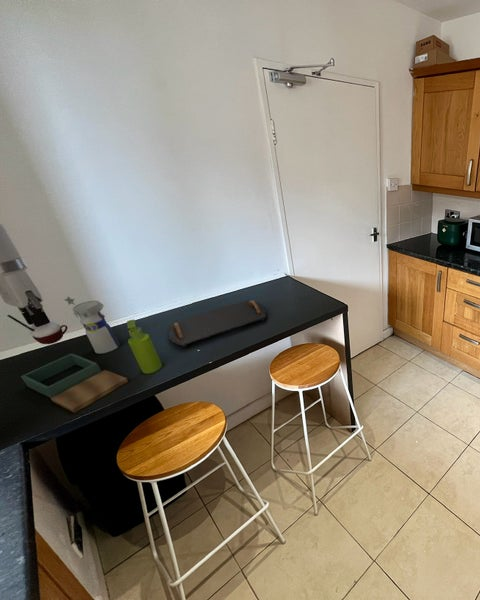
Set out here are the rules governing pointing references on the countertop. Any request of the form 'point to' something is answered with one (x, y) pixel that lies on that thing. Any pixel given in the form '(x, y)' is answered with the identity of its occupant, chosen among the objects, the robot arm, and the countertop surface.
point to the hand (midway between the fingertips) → (39, 323)
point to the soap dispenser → (143, 349)
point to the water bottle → (95, 326)
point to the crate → (57, 367)
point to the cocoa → (45, 332)
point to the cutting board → (89, 390)
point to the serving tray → (215, 322)
